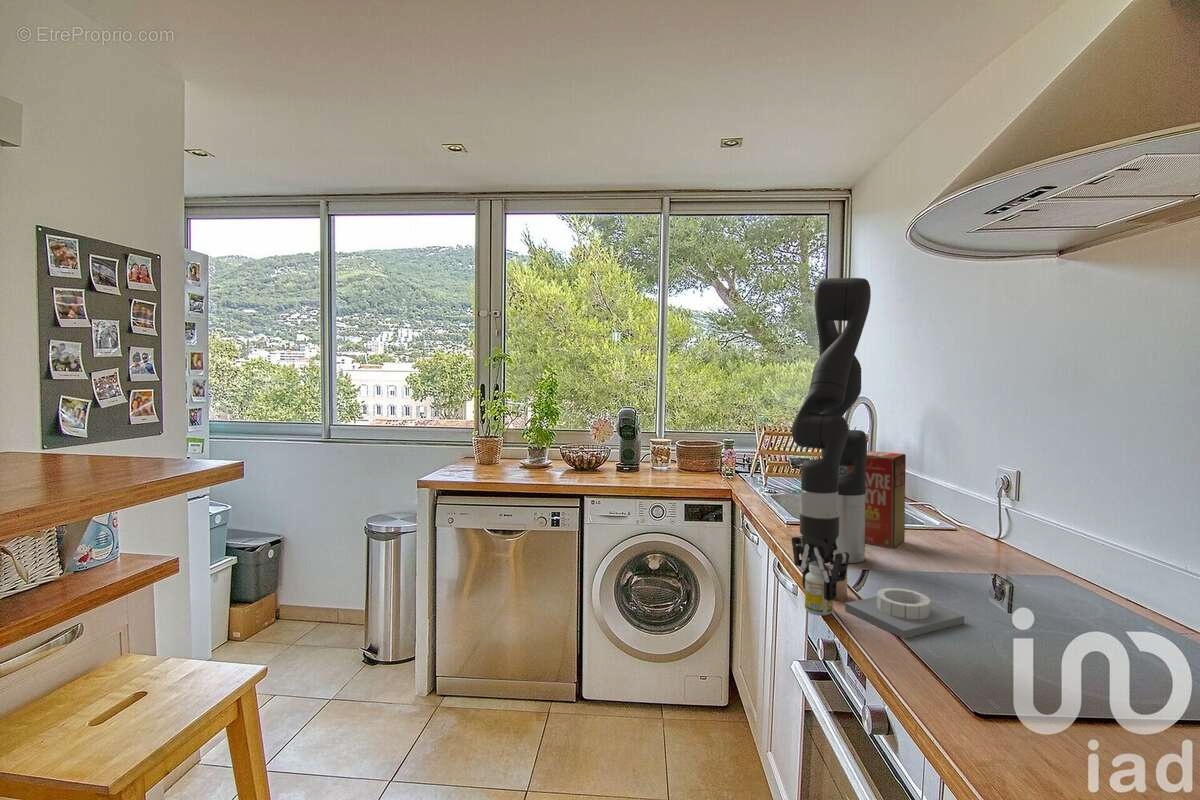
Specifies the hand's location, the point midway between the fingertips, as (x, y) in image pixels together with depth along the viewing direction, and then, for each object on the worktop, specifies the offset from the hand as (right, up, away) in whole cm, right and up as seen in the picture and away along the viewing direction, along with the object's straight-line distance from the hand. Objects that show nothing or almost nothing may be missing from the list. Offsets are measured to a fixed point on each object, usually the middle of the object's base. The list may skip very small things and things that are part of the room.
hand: (818, 593), depth 121 cm
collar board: (+15, -3, -3) cm, 16 cm away
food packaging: (+33, -1, +47) cm, 58 cm away
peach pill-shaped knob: (+6, -3, +8) cm, 11 cm away
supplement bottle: (0, -4, 0) cm, 4 cm away
